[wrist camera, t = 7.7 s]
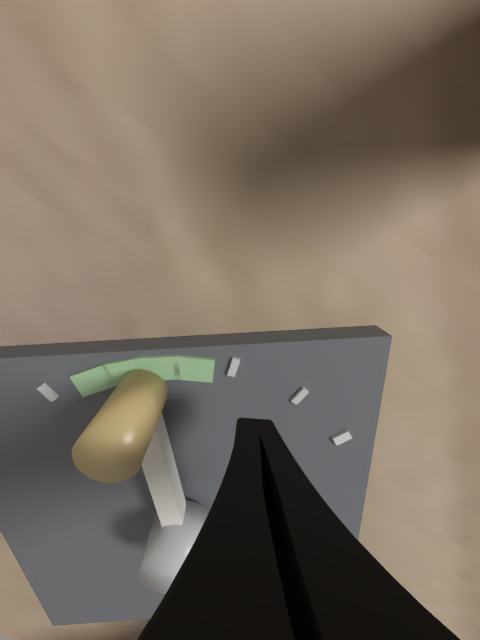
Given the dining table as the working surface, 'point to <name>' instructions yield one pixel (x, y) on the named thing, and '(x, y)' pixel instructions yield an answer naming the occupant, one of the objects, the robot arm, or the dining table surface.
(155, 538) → the dial pointer
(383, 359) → the dial board
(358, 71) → the dining table surface
